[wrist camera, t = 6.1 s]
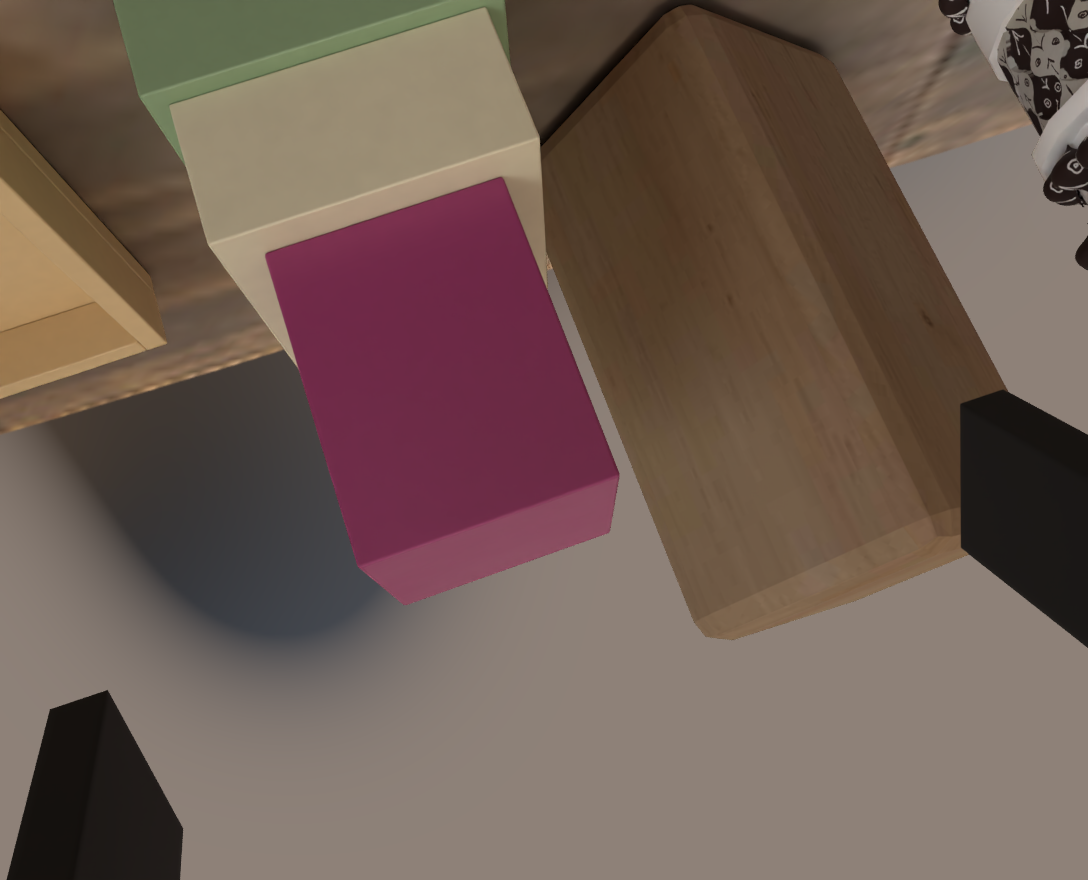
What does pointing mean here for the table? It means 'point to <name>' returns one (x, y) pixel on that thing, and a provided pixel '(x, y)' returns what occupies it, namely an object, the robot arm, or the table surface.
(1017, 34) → the leaning tower model
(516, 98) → the cream block
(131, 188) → the table surface
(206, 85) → the sage block
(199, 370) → the table surface
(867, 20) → the table surface
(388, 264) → the mulberry block
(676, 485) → the wooden block
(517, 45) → the table surface
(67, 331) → the tray
